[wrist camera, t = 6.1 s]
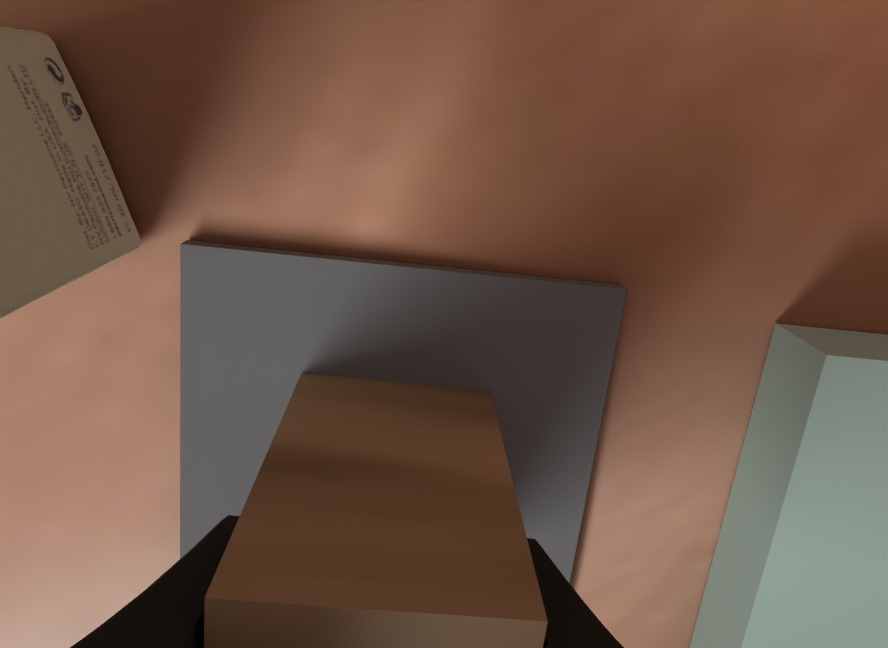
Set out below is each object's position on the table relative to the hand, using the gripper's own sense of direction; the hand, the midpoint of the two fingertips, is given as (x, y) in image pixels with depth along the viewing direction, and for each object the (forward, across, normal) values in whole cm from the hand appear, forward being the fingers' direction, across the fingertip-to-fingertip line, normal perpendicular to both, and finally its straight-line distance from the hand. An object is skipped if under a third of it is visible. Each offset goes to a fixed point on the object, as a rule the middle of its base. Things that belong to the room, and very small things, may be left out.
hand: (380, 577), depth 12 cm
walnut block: (+4, 0, 0) cm, 4 cm away
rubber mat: (+4, 0, 0) cm, 4 cm away
